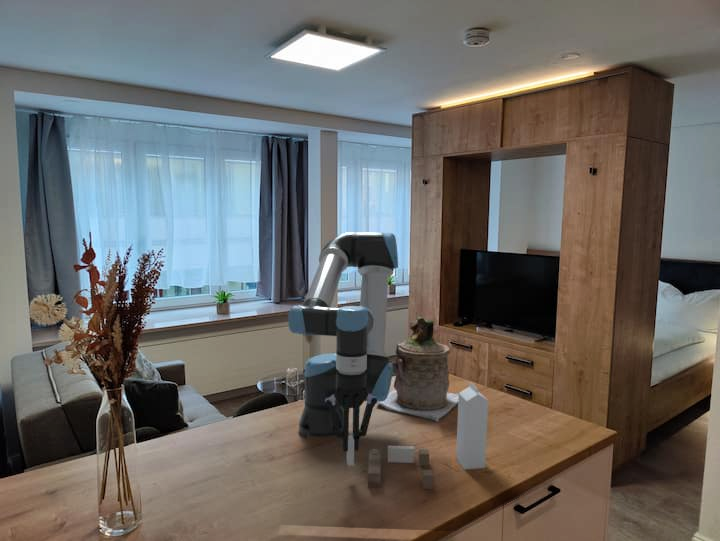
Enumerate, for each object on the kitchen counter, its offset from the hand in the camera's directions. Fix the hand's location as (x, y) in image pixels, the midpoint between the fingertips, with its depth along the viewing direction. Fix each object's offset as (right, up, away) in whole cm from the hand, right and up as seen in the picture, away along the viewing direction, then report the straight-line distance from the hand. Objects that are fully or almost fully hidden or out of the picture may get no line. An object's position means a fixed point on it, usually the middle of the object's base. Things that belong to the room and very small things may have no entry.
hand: (350, 462), depth 120 cm
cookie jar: (+24, 0, +52) cm, 57 cm away
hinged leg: (+6, -4, +2) cm, 8 cm away
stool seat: (+12, -5, +3) cm, 13 cm away
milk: (+32, -5, +11) cm, 35 cm away
